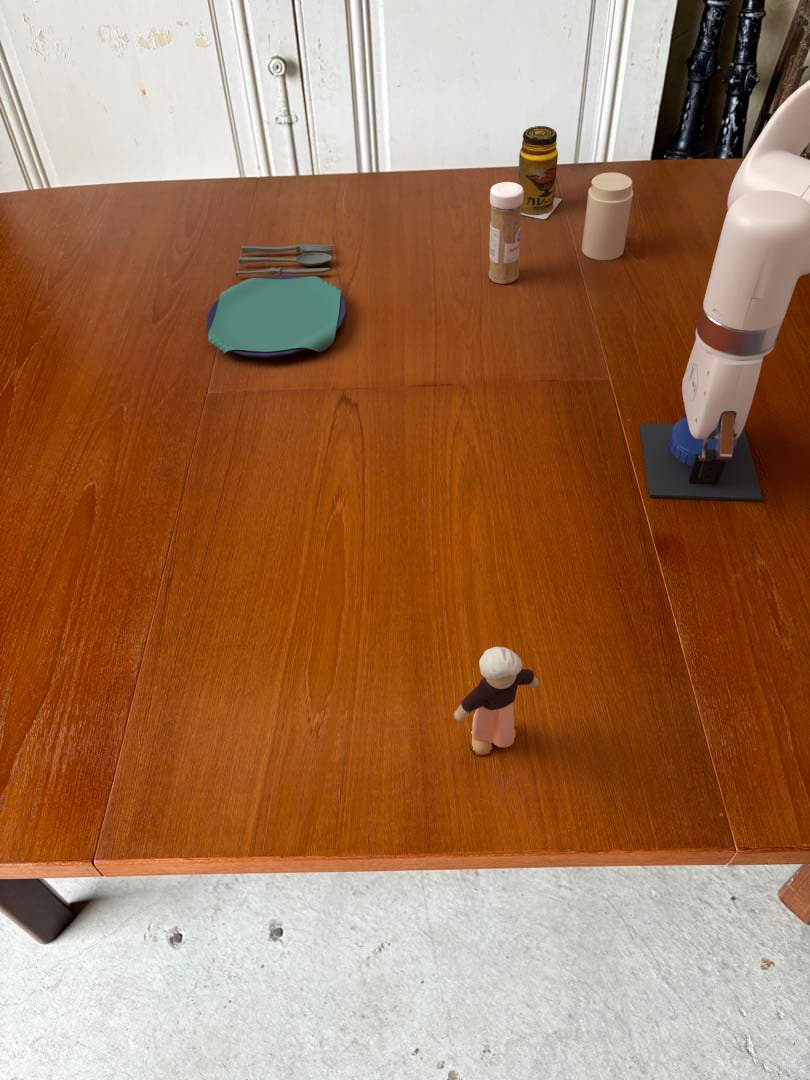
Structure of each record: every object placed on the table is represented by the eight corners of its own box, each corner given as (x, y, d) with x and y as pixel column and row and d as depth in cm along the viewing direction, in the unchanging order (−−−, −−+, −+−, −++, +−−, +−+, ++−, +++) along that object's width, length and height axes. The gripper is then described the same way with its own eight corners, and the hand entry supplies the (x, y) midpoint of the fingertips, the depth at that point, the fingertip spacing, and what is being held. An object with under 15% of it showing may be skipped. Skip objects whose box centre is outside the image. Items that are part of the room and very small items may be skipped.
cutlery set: (196, 369, 110) (192, 355, 108) (232, 253, 130) (229, 240, 128) (342, 365, 109) (340, 351, 107) (356, 249, 129) (355, 235, 127)
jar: (622, 238, 127) (633, 170, 119) (625, 260, 122) (637, 191, 114) (580, 238, 127) (588, 171, 119) (582, 260, 123) (590, 191, 115)
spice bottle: (518, 285, 119) (523, 196, 109) (487, 285, 120) (489, 196, 110) (518, 268, 122) (523, 180, 112) (488, 268, 123) (490, 180, 113)
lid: (672, 468, 90) (675, 455, 88) (665, 426, 94) (668, 413, 93) (738, 470, 89) (742, 457, 87) (728, 427, 93) (732, 415, 92)
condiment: (545, 220, 132) (552, 144, 122) (497, 210, 134) (500, 135, 125) (562, 200, 136) (569, 125, 127) (515, 191, 139) (519, 117, 130)
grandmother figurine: (476, 774, 70) (479, 699, 60) (449, 742, 72) (447, 664, 62) (543, 725, 72) (556, 645, 63) (515, 695, 75) (523, 614, 65)
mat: (742, 428, 97) (743, 425, 96) (761, 501, 89) (762, 498, 88) (639, 426, 98) (640, 423, 97) (649, 497, 90) (649, 494, 90)
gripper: (687, 277, 86) (656, 409, 99) (711, 379, 74) (673, 513, 88) (761, 277, 85) (720, 411, 98) (797, 381, 73) (745, 516, 87)
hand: (698, 458), depth 93 cm, fingers closed on lid, 6 cm apart
